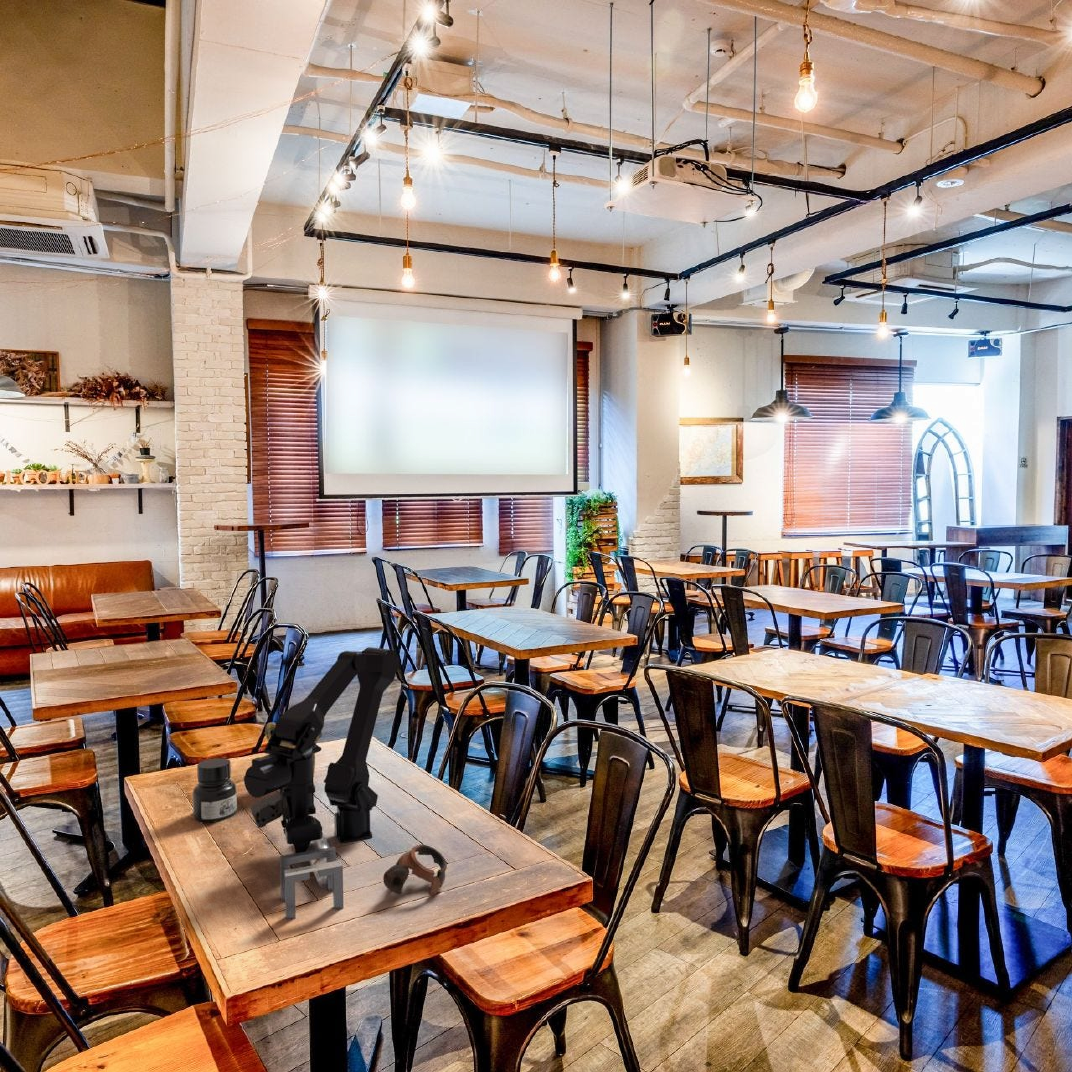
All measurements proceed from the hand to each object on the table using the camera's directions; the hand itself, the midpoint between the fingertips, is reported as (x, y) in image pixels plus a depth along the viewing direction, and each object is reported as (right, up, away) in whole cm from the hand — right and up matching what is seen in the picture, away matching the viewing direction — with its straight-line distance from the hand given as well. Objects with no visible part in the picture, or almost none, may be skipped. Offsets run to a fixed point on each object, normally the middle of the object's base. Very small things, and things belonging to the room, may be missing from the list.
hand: (299, 860), depth 154 cm
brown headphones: (+21, -3, -10) cm, 24 cm away
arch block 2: (+8, -2, -18) cm, 20 cm away
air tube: (+2, +1, 0) cm, 2 cm away
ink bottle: (-26, 0, +24) cm, 35 cm away
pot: (-13, +1, +40) cm, 42 cm away
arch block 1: (+5, -2, -11) cm, 13 cm away
